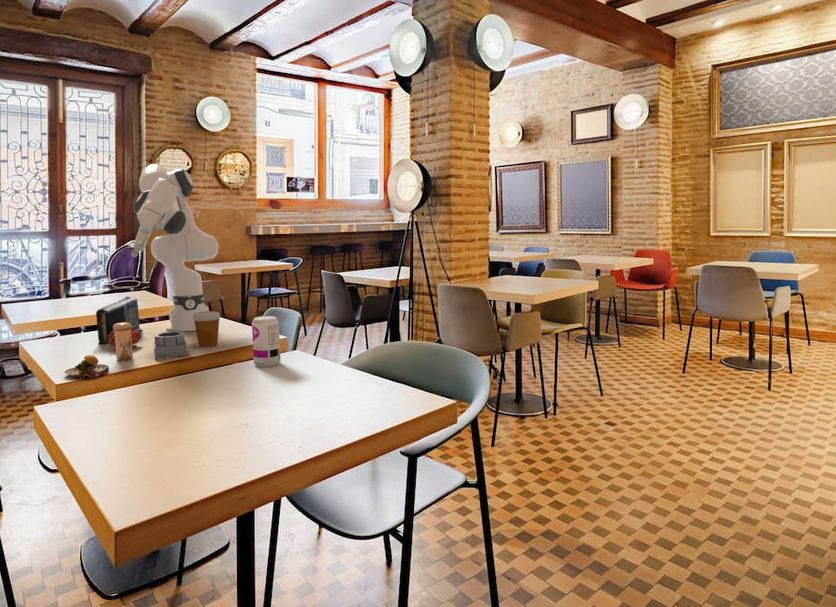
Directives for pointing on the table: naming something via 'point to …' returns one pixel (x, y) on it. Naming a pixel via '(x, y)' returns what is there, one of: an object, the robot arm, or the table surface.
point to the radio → (117, 317)
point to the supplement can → (266, 341)
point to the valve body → (170, 345)
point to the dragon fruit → (134, 337)
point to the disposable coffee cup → (207, 328)
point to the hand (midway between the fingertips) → (135, 250)
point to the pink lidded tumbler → (123, 341)
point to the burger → (88, 368)
